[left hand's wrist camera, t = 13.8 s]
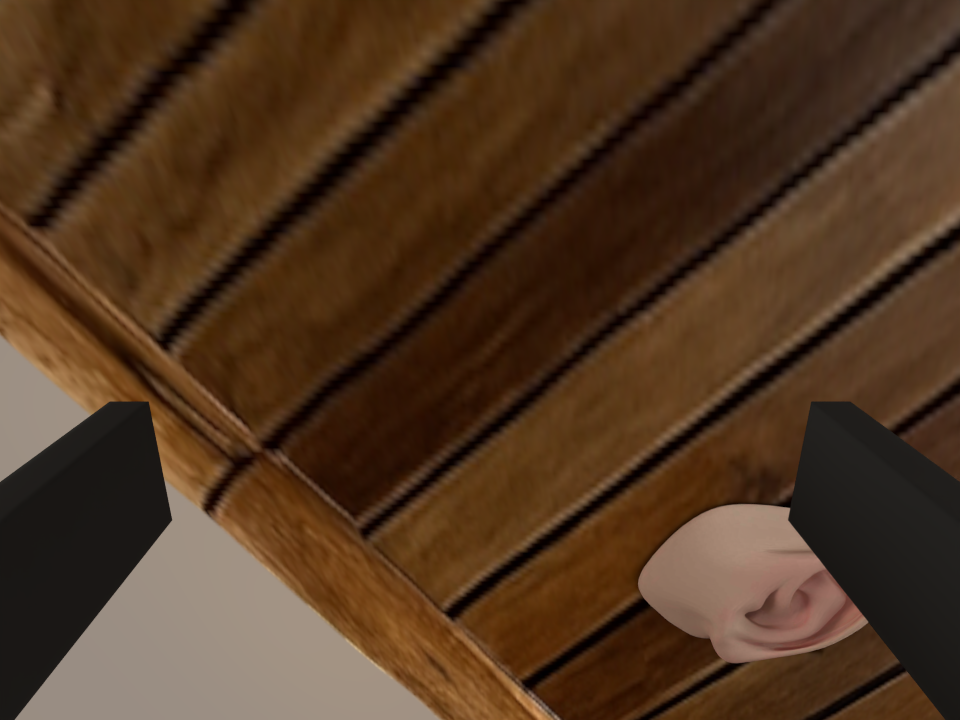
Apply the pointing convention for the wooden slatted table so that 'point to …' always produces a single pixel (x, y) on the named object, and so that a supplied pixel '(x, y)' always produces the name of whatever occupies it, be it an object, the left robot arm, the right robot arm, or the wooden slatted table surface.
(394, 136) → the wooden slatted table surface
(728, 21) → the wooden slatted table surface
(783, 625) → the anatomical model
